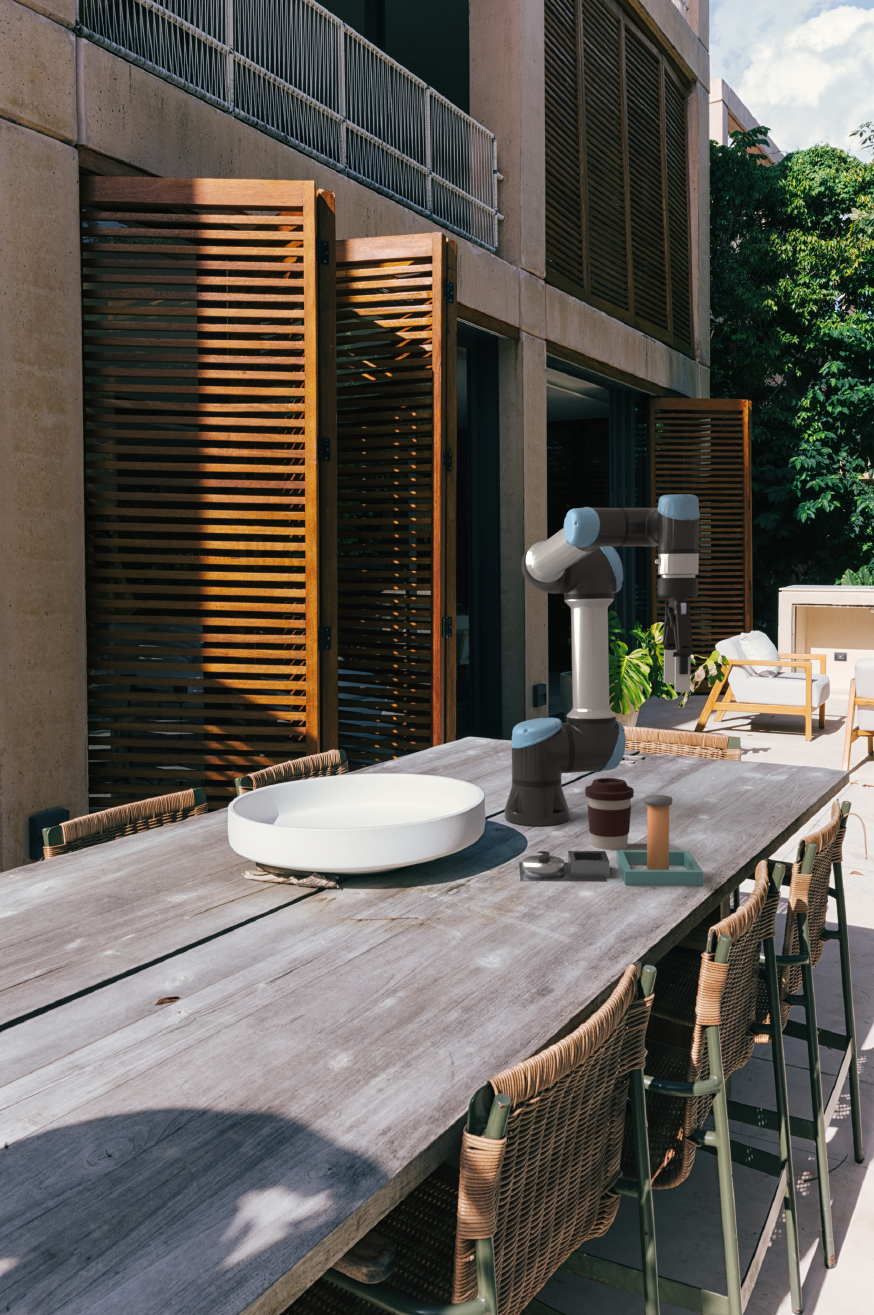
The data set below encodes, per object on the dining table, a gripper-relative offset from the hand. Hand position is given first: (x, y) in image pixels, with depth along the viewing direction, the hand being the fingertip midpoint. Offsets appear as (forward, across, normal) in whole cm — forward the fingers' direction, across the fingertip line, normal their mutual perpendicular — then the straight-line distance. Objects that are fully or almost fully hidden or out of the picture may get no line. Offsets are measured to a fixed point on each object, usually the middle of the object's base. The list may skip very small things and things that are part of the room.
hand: (676, 687), depth 196 cm
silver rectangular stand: (+36, +7, -22) cm, 43 cm away
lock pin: (+35, +8, -4) cm, 36 cm away
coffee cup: (+36, -12, -12) cm, 40 cm away
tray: (+36, +8, -4) cm, 37 cm away
